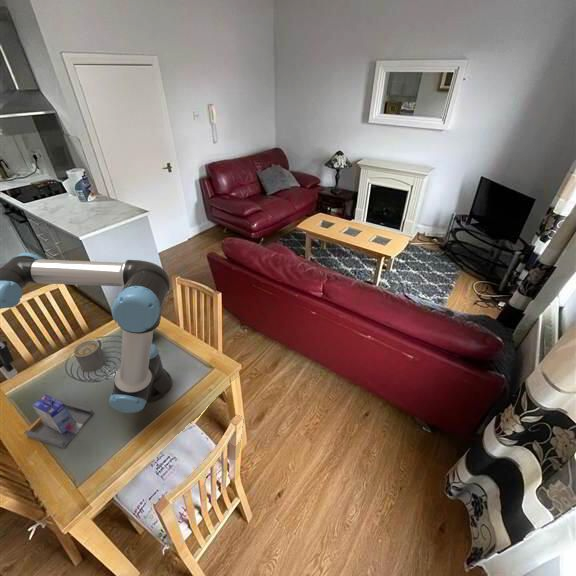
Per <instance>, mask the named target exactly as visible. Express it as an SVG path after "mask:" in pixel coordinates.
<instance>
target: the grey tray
mask: <svg viewBox="0 0 576 576" xmlns="http://www.w3.org/2000/svg"><path fill="white" fill-rule="evenodd" d="M57 400H58V401H60V402H62V403H64V405H65V406H66V408H67V410H68V411H69V413H70V414H71V416H72V418H73V419H74V421H75V422H76V423H75V424H74V425H73V426H72V427H70V428H69V429H68V430H67V431H66V432H65V433H64V434H61V433H59V432H58V431H56V430H54V429H52V428H50V427H49V426H47V425H45V423H44V422H43V421H42V419H41V418H40V416H39V417H38V418H37V419H36V420H35V421H34V422H33V423H32V424H31V425H30V426H29V427H28V428H27V429H26V430H25V431H24V432H23V433H24V435H25V436H26V437H27V438H29V439H32V440H37V441H39V442H41V443H42V442H43V443H45V444H49V445H52V446H55V447H58V448H62V449H65V448H66V447H67V446H68V445H69V444H70V443H71V441H72V440H73V439H74V438H75V437H76V435H77V434H78V433H79V432H80V431H81V430H82V428H83V427H84V426H85V425H86V424H87V422H89V420H91V418H92V417H93V416H94V414H95V413H94V411H93V410H92V409H91V408H87V407H85V406H81V405H77V404H74V403H71V402H66V401H63V400H59V399H57Z"/></svg>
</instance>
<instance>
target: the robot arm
mask: <svg viewBox="0 0 576 576" xmlns="http://www.w3.org/2000/svg"><path fill="white" fill-rule="evenodd" d="M29 284H46V285H47V284H48V285H49V284H50V285H72V286H73V285H74V286H75V285H76V286H78V285H79V286H101V287H102V286H103V287H123V288H122V289H121V291H120V292H119V293H117V295H116V297H115V299H114V301H113V304H112V307H111V315H112V319H113V320H114V322H115V323H117V325H118V327H119V328H120V329H121V330H122V331H121V334H122V335H121V347H120V348H121V349H120V363H119V364H120V366H119V370H117V372H116V373H115V375H114V378H113V379H114V380H113V389H112V392H111V394H110V396H109V400H108V404H109V407H110V408H112V409H113V410H116V411H118V412H121V413H127V414H130V413H131V414H134V413H138V412H140V411H142V410H143V409H144V408H145V405H146V404H147V403H153V402H156V401H159V400H161V399H163V398H164V397H165V396H166V395H168V393H169V392H170V390H171V388H172V386H173V380H172V379H173V378H172V376H171V374H170V373H169V372H168V371H167V370H166V369H165V368H164V366H163V362H162V358H161V355H160V353H159V352H160V351H159V350H158V348H157V346H156V344H155V343H153V337H154V335H153V334H154V331H155V330H156V329H157V328H158V327H159V325H160V324H161V318H162V312H163V306H164V304H165V301H166V298H167V296H168V294H169V292H170V289H171V279H170V276H169V274H168V272H167V271H166V270H165V269H164V268H163V267H162V266H160V265H158V264H156V263H153V262H151V261H146V260H140V259H139V260H138V259H127V260H125V261H124V262H117V261H116V262H114V261H113V262H112V261H92V260H91V261H90V260H89V261H87V260H67V259H66V260H64V259H43V258H41V257H40V256H39V255H37V254H33V253H32V252H21V253H19V254H18V255H16V256H14V257H12V258H11V259H10V260H9V261H8V262H6V263H4V265H2V266H1V267H0V310H1V309H11V308H14V307H16V306H17V305H18V304H19V303H21V299H22V298H23V291H22V290H23V288H24V287H25V286H27V285H29ZM12 362H14V357H13V356H12V354H11V352H10V349H9V347H8V343H7V341H5V340H3V341H0V372H1V373H2V375H3V376H4V377H5V378H6V379H7V380H12V379H14V377H15V376H17V375H18V374H19V372H18V371H17V369H16V368H15V367H14V365H13V364H12Z"/></svg>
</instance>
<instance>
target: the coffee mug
mask: <svg viewBox="0 0 576 576" xmlns="http://www.w3.org/2000/svg"><path fill="white" fill-rule="evenodd" d="M72 353H73V355H74V358H75V359H76V360H77V362H78V365H79V366H80V368H81V370H82V371H84V372H85V373H87V372H89V373H90V372H91V373H92V372H94V371H97V370H99V369H101V368H102V367H103V366H104V365H105V363H106V362H107V357H106V356H105V354H104V351H103V349H102V342H101V340H100V339H99V338H96V339H95V338H94V339H88V340H85V341H82V342H79V343H78V344H77V345H76V346H75V347H74V349H73V352H72Z"/></svg>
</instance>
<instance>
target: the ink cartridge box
mask: <svg viewBox="0 0 576 576" xmlns="http://www.w3.org/2000/svg"><path fill="white" fill-rule="evenodd" d="M58 400H59V399H56V398H54V397H53V396H51V395H48V394H44V395H43V396H42V397H40V398H39V399H38V400H37V401H35V402H33V404H32V405H31V406H32V407H33V409H34V411H35V412H36V414H37V415H38V416H39V417H40V418H41V419H42V421H43V422H44V423H45V425H47V426H49V427H50V428H52V429H54V430H56V431H58V432H59V433H61V434H64V433H65V432H66V431H67V430H68V429H69V428H70V427H72V426H73V425H74V424H75V423H76V422H75V421H74V419H73V418H72V416H71V414H70V413H69V411H68V410H67V408H66V406H65V405H64V403H62V402H60V401H61V400H60V401H58Z"/></svg>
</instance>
